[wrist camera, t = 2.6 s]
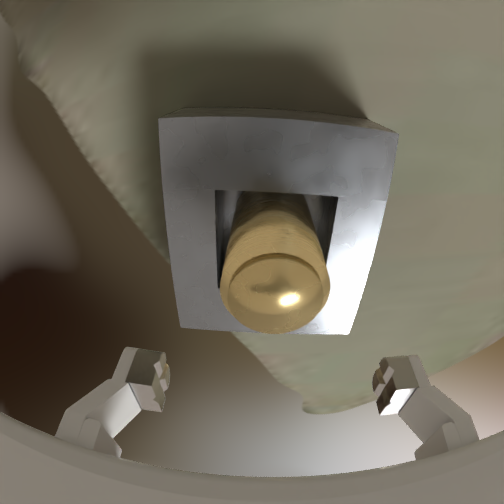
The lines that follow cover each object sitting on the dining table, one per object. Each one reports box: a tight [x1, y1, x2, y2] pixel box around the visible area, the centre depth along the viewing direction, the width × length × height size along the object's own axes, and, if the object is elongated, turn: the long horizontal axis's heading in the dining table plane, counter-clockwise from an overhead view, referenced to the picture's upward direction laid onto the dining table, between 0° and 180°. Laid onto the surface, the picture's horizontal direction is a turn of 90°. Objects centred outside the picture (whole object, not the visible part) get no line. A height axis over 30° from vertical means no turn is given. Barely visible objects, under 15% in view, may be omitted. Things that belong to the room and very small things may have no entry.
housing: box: [158, 107, 399, 334], centre depth 19 cm, size 14×12×5 cm
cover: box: [220, 191, 330, 334], centre depth 17 cm, size 5×5×9 cm
